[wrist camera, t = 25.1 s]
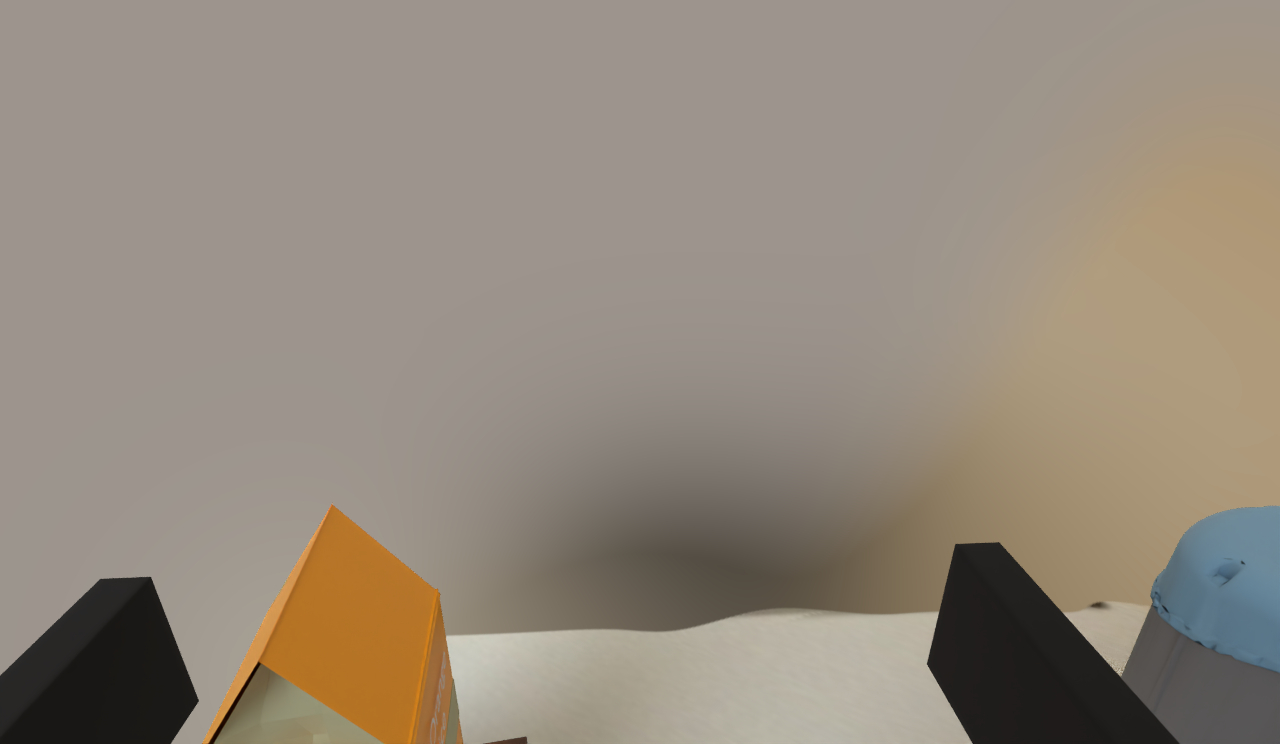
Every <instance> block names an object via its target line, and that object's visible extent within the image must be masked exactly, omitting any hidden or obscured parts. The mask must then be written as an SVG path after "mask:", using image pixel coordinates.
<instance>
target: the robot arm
mask: <svg viewBox="0 0 1280 744" xmlns="http://www.w3.org/2000/svg"><path fill="white" fill-rule="evenodd" d="M1151 598H1152V601H1153V603H1152V605H1151V608H1150V610H1149V612H1148V615H1147V617H1146V620H1145V622H1144V624H1143V627H1142V629H1141V631H1140V634H1139V636H1138V638H1137V641H1136V643H1135V645H1134V648H1133V650H1132V652H1131V655H1130V657H1129V660H1128V662H1127V664H1126V667H1125V669H1124V671H1123V674H1122V676H1121V677H1120V676H1119V675H1118V674H1117V673H1116V672H1115V671H1114V670H1113V668H1112V667H1111V666H1110V665H1109V664H1108V663H1107V662H1106V661H1105V660H1104V658H1103V657H1102V656H1101V655H1100V654H1099V653H1098V652H1097V651H1096V650H1095V648H1094V647H1093V646H1092V645H1091V644H1090V643H1089V642H1088V641H1087V640H1086V638H1085V637H1084V636H1083V635H1082V634H1081V633H1080V632H1079V631H1078V630H1077V628H1076V627H1075V626H1074V625H1073V624H1072V623H1071V622H1070V621H1069V619H1068V618H1067V617H1066V616H1065V615H1064V614H1063V613H1062V612H1061V611H1060V609H1059V608H1058V607H1057V606H1056V605H1055V604H1054V603H1053V602H1052V601H1051V599H1050V598H1049V597H1048V596H1047V595H1046V594H1045V593H1044V592H1043V591H1042V590H1041V588H1040V587H1039V586H1038V585H1037V584H1036V583H1035V582H1034V581H1033V579H1032V578H1031V577H1030V576H1029V575H1028V574H1027V573H1026V572H1025V570H1024V569H1023V568H1022V567H1021V566H1020V565H1019V564H1018V563H1017V562H1016V561H1015V560H1014V558H1013V557H1012V556H1011V555H1010V554H1009V553H1008V552H1007V551H1006V549H1005V548H1004V547H1003V546H1002V545H1001V544H1000V543H999V542H998V543H972V544H956V545H955V548H954V552H953V557H952V561H951V565H950V569H949V573H948V578H947V582H946V586H945V590H944V594H943V599H942V603H941V607H940V611H939V615H938V620H937V624H936V628H935V632H934V637H933V641H932V645H931V649H930V653H929V658H928V662H927V665H928V667H929V669H930V670H931V672H932V674H933V676H934V677H935V679H936V681H937V682H938V684H939V686H940V688H941V689H942V691H943V693H944V695H945V696H946V698H947V700H948V702H949V703H950V705H951V707H952V708H953V710H954V712H955V714H956V715H957V717H958V719H959V721H960V722H961V724H962V726H963V728H964V729H965V731H966V733H967V734H968V736H969V738H970V740H971V741H972V743H973V744H1280V506H1265V507H1257V508H1255V507H1252V508H1251V507H1250V508H1237V509H1232V510H1227V511H1223V512H1219V513H1216V514H1213V515H1211V516H1208V517H1206V518H1205V519H1202V520H1200V521H1198V522H1197V523H1196V524H1194V525H1193V526H1192V527H1190V528H1189V529H1188V530H1187V531H1186V532H1185V534H1184V535H1183V536H1182V538H1181V539H1180V541H1179V543H1178V545H1177V547H1176V549H1175V551H1174V553H1173V555H1172V557H1171V559H1170V561H1169V563H1168V565H1167V567H1166V569H1164V570H1163V571H1162V572H1161V573H1160V574H1159V575H1158V576H1157V578H1156V579H1155V581H1154V583H1153V586H1152V591H1151ZM198 702H199V700H198V697H197V695H196V692H195V690H194V687H193V684H192V682H191V679H190V677H189V674H188V672H187V669H186V666H185V664H184V661H183V659H182V656H181V654H180V651H179V649H178V646H177V644H176V641H175V638H174V635H173V633H172V630H171V628H170V625H169V622H168V620H167V618H166V615H165V612H164V610H163V607H162V604H161V602H160V599H159V597H158V594H157V592H156V589H155V586H154V584H153V581H152V579H151V577H137V578H112V579H100V580H99V581H98V582H97V583H96V584H95V585H94V586H93V587H92V588H91V589H90V590H89V591H88V592H86V593H85V594H84V595H83V596H82V597H81V598H80V599H79V600H78V601H77V602H76V603H75V604H74V605H73V606H72V607H71V608H70V609H69V610H68V611H67V612H66V613H65V614H64V615H63V616H62V617H61V618H60V619H58V620H57V621H56V622H55V623H54V624H53V625H52V626H51V627H50V628H49V629H48V630H47V631H46V632H45V633H44V634H43V635H42V636H41V637H40V638H39V639H38V640H37V641H36V642H35V643H34V644H33V645H32V646H31V647H30V648H28V649H27V650H26V651H25V652H24V653H23V654H22V655H21V656H20V657H19V658H18V659H17V660H16V661H15V662H14V663H13V664H12V665H11V666H10V667H9V668H8V669H7V670H6V671H5V672H4V673H2V674H1V676H0V744H171V742H172V741H173V739H174V738H175V736H176V735H177V733H178V732H179V730H180V729H181V727H182V726H183V724H184V723H185V721H186V720H187V718H188V717H189V715H190V714H191V712H192V711H193V709H194V708H195V706H196V705H197V703H198Z"/></svg>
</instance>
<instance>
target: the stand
mask: <svg viewBox="0 0 1280 744" xmlns="http://www.w3.org/2000/svg"><path fill="white" fill-rule="evenodd" d="M485 744H527V737H521V738H515V739H509V740H503V741H497V742H491V743H485Z"/></svg>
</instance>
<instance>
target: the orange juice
mask: <svg viewBox="0 0 1280 744" xmlns="http://www.w3.org/2000/svg"><path fill="white" fill-rule="evenodd" d="M202 744H463V739H462V733H461V727H460V721H459V709H458V703H457V697H456V691H455V684H454V679H453V678H452V672H451V666H450V660H449V653H448V647H447V641H446V635H445V629H444V623H443V617H442V611H441V604H440V593H439V592H438V589H434V588H433V587H431V586H430V585H429V584H428V583H427V582H425V581H424V580H423V579H422V578H420V577H419V576H418V575H417V574H416V573H414V572H413V571H412V570H411V569H409V568H408V567H407V566H406V565H405V564H404V563H402V562H401V561H400V560H399V559H398V558H396V557H395V556H394V555H393V554H391V553H390V552H389V551H388V550H387V549H385V548H384V547H383V546H382V545H381V544H379V543H378V542H377V541H376V540H375V539H373V538H372V537H371V536H370V535H368V534H367V533H366V532H365V531H364V530H362V529H361V528H360V527H359V526H358V525H356V524H355V523H354V522H353V521H352V520H350V519H349V518H348V517H347V516H345V515H344V514H343V513H342V512H341V511H339V510H338V509H337V508H336V507H335V506H333V505H331V507H330V508H329V510H328V512H327V513H326V515H325V517H324V519H323V520H322V522H321V523H320V525H319V527H318V529H317V530H316V532H315V534H314V535H313V537H312V538H311V540H310V542H309V544H308V545H307V547H306V549H305V550H304V552H303V554H302V555H301V557H300V559H299V560H298V562H297V564H296V565H295V567H294V569H293V570H292V572H291V574H290V575H289V577H288V579H287V580H286V582H285V584H284V585H283V587H282V589H281V591H280V592H279V594H278V595H277V597H276V599H275V600H274V602H273V604H272V605H271V607H270V609H269V610H268V612H267V614H266V616H265V618H264V620H263V622H262V624H261V626H260V628H259V630H258V632H257V634H256V636H255V639H254V640H253V643H252V644H251V647H250V648H249V650H248V653H247V654H246V656H245V659H244V660H243V662H242V664H241V667H240V669H239V671H238V673H237V675H236V677H235V679H234V681H233V683H232V685H231V687H230V689H229V691H228V693H227V695H226V697H225V699H224V701H223V703H222V705H221V707H220V709H219V711H218V713H217V715H216V717H215V719H214V721H213V723H212V725H211V727H210V729H209V731H208V733H207V735H206V737H205V739H204V741H203V743H202Z"/></svg>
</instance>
